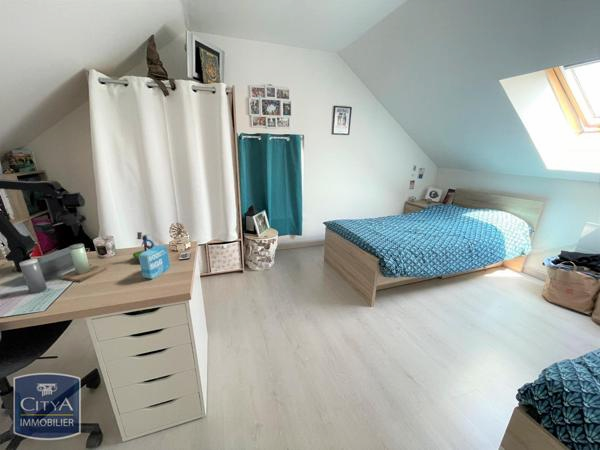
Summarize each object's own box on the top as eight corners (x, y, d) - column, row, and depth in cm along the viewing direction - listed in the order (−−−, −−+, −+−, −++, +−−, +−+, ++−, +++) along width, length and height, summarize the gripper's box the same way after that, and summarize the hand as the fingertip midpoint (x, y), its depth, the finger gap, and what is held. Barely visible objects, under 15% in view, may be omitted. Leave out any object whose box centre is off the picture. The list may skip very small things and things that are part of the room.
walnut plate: (59, 278, 110) (59, 276, 110) (87, 266, 121) (86, 264, 121) (80, 282, 108) (80, 280, 107) (106, 269, 119) (106, 267, 118)
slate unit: (25, 280, 108) (18, 264, 106) (74, 260, 127) (69, 246, 124) (40, 283, 106) (34, 266, 104) (87, 262, 125) (83, 248, 122)
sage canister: (74, 272, 113) (67, 246, 110) (88, 268, 117) (81, 242, 114) (78, 275, 111) (71, 248, 107) (92, 271, 115) (85, 245, 111)
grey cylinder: (26, 292, 100) (15, 263, 96) (41, 286, 104) (31, 258, 100) (35, 294, 99) (25, 265, 95) (50, 287, 103) (40, 259, 99)
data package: (151, 280, 110) (146, 255, 106) (142, 279, 111) (137, 254, 107) (170, 267, 121) (166, 245, 117) (162, 266, 122) (158, 244, 118)
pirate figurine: (165, 252, 138) (161, 226, 134) (161, 261, 127) (156, 234, 122) (137, 255, 134) (131, 229, 129) (130, 265, 123) (124, 237, 118)
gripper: (46, 214, 105) (57, 248, 110) (90, 204, 122) (98, 234, 127) (27, 212, 107) (38, 245, 112) (73, 203, 125) (81, 232, 130)
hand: (66, 239), depth 120 cm, fingers open, 9 cm apart
